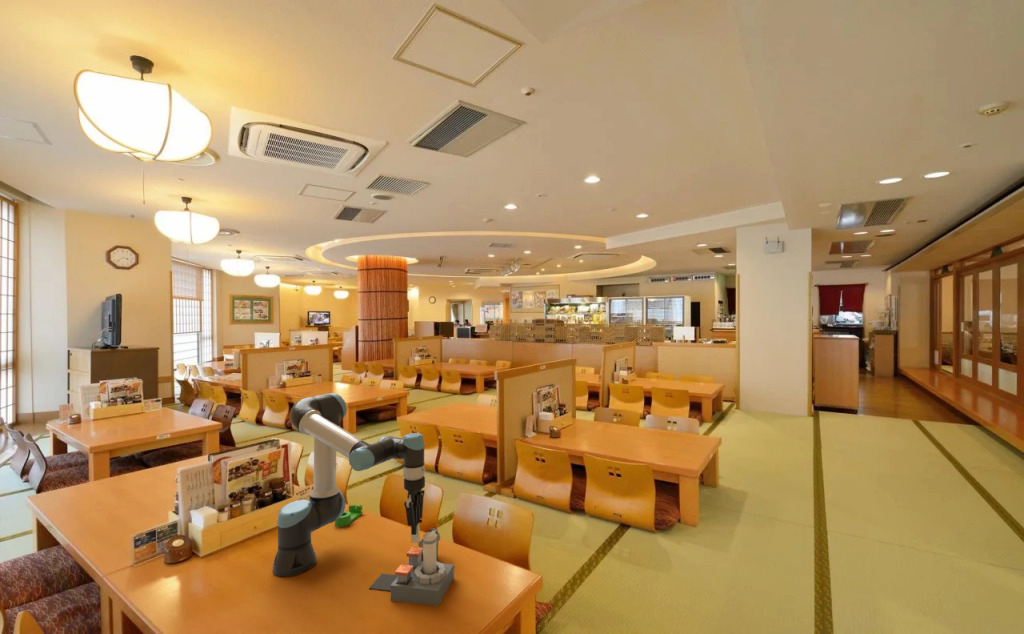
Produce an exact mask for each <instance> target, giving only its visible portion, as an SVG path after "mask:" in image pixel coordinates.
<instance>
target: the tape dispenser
mask: <svg viewBox="0 0 1024 634" xmlns="http://www.w3.org/2000/svg"><path fill="white" fill-rule="evenodd" d="M361 510H362V511H361ZM362 515H363V505H362V504H356V503H355V504H354V503H352V504H350V505H349V506H348V510H344V513H343V514H342V516H341V517H340V518H338V519H337V520H335V521H334V526H335V527H336V528H343V527H347V526H349V525H350V524H351V523H352V522H353V521H355V520H356V519H358V518H359V517H360V516H362Z"/></svg>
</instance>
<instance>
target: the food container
mask: <svg viewBox="0 0 1024 634" xmlns="http://www.w3.org/2000/svg"><path fill="white" fill-rule="evenodd" d="M428 532H434V533H436V557H437V558H438V557H439V556H438V554H439V541H441V535H440V532H439V530H437V529H436V528H433V527H429V531H428ZM417 547H420V548H423V538H422V539H421V540H420V542H419V543H417ZM421 561H423V552H422V554H421Z"/></svg>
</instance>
